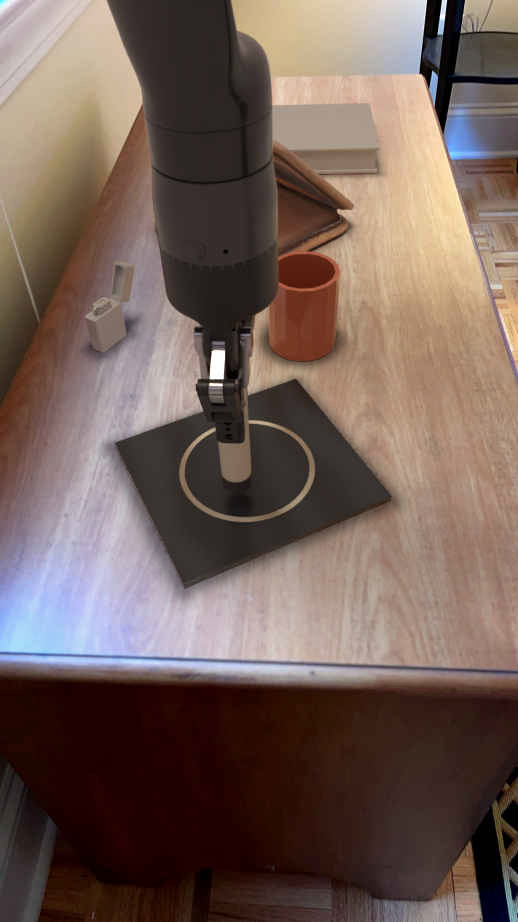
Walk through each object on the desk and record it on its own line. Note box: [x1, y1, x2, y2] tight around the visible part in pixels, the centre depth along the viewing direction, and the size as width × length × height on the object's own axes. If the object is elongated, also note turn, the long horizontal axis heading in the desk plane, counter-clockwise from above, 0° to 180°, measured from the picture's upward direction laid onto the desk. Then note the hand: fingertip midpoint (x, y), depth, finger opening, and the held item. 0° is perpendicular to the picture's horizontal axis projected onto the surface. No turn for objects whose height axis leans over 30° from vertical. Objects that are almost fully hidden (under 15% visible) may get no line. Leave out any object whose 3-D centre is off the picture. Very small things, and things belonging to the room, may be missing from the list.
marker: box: [218, 386, 252, 494], centre depth 56 cm, size 3×3×12 cm
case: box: [153, 139, 355, 257], centre depth 88 cm, size 20×21×16 cm
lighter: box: [84, 260, 135, 354], centre depth 76 cm, size 7×2×8 cm, turn 146°
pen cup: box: [267, 250, 341, 362], centre depth 74 cm, size 7×7×9 cm
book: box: [272, 102, 380, 175], centre depth 109 cm, size 18×4×24 cm
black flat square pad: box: [114, 378, 392, 589], centre depth 64 cm, size 20×18×1 cm
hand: (233, 425), depth 55 cm, fingers closed on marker, 2 cm apart
